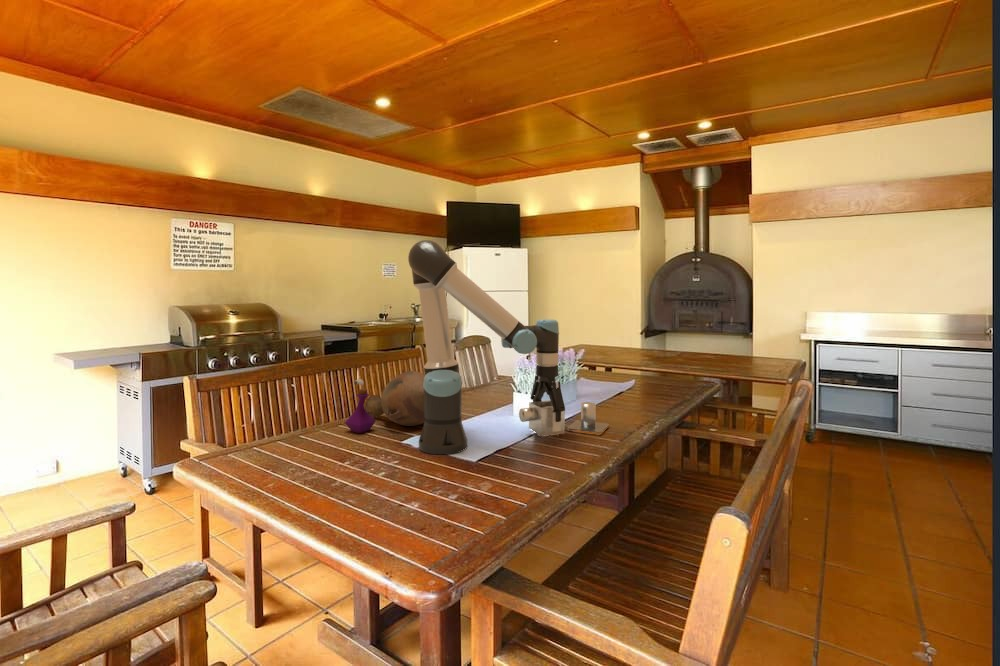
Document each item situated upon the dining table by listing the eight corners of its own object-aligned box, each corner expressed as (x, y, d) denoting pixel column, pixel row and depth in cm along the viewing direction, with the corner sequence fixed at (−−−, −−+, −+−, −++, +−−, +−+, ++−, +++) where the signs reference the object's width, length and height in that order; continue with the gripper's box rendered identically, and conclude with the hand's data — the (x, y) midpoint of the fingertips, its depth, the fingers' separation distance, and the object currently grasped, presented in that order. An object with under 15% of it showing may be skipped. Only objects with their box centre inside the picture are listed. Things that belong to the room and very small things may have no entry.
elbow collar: (551, 427, 183) (551, 400, 182) (564, 434, 175) (564, 405, 174) (516, 432, 177) (516, 403, 177) (527, 439, 169) (527, 409, 168)
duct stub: (566, 431, 178) (567, 405, 177) (576, 423, 189) (576, 398, 188) (600, 435, 173) (601, 409, 172) (608, 427, 184) (609, 401, 183)
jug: (448, 425, 185) (393, 426, 203) (449, 371, 189) (394, 376, 207) (406, 426, 169) (350, 426, 187) (407, 367, 173) (352, 373, 191)
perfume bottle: (376, 430, 179) (375, 379, 177) (359, 435, 173) (358, 382, 171) (361, 426, 183) (360, 377, 181) (344, 431, 177) (343, 380, 175)
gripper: (576, 369, 165) (575, 433, 167) (539, 359, 188) (539, 416, 190) (555, 371, 162) (555, 436, 164) (521, 360, 185) (521, 418, 187)
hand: (546, 425), depth 177 cm, fingers open, 13 cm apart
